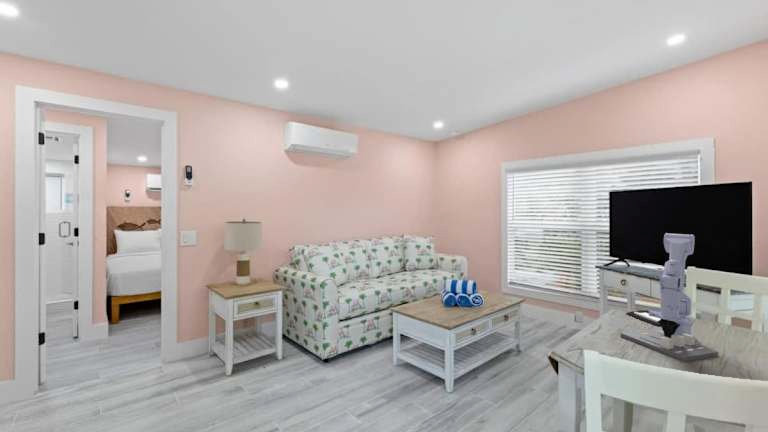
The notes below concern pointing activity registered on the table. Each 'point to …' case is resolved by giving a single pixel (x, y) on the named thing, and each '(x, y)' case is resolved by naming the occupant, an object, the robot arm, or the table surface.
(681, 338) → the handle
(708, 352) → the breaker panel
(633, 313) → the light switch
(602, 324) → the table surface
